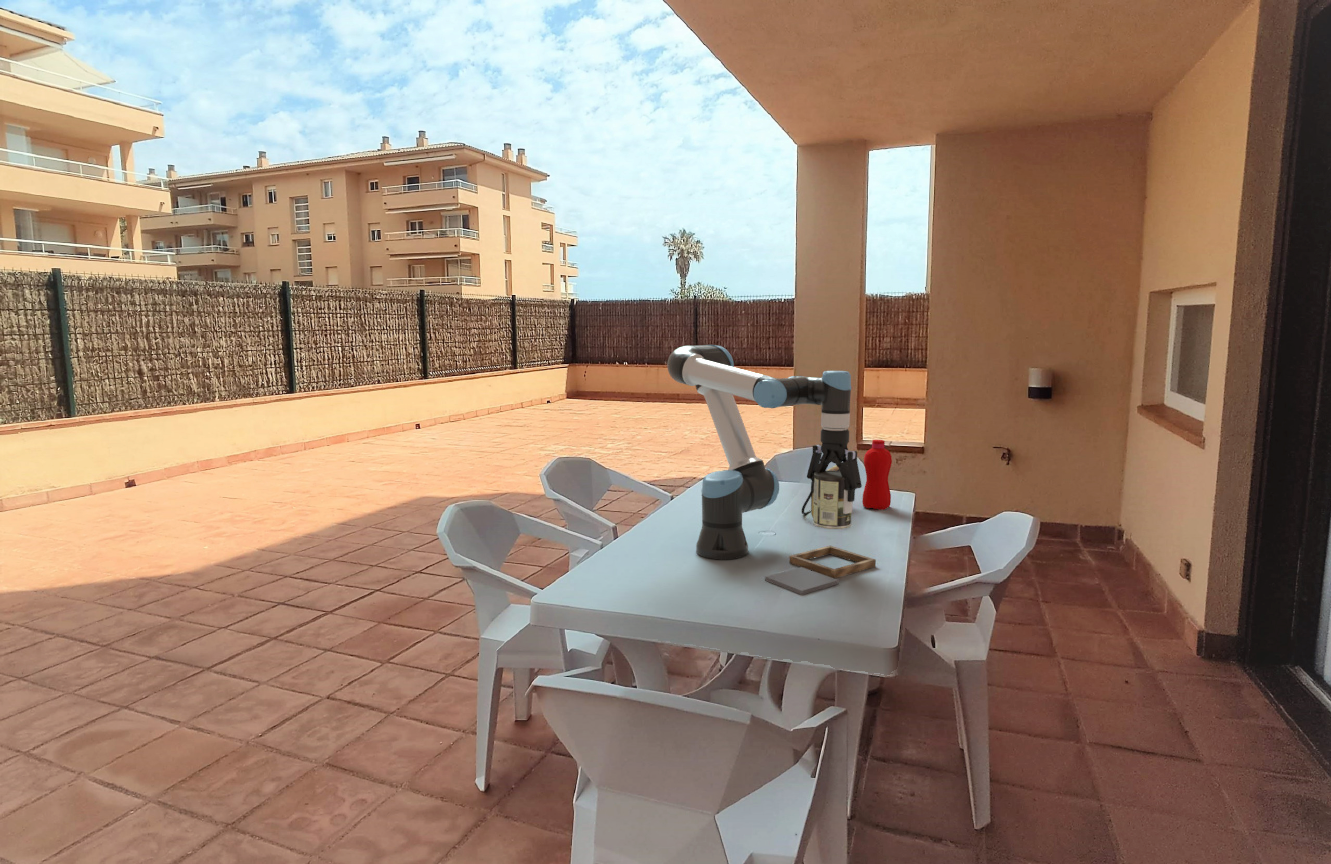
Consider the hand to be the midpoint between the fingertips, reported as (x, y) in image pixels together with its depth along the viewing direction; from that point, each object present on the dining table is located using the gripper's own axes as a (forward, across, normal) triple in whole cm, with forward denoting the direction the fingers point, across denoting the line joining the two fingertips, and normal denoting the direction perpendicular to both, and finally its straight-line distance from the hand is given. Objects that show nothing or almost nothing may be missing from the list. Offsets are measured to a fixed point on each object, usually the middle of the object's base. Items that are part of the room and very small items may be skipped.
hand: (832, 508), depth 197 cm
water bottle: (+16, +36, -64) cm, 75 cm away
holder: (+16, 0, 0) cm, 16 cm away
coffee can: (+5, 0, 0) cm, 5 cm away
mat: (+16, -6, +17) cm, 24 cm away
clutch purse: (+17, +44, -43) cm, 64 cm away
